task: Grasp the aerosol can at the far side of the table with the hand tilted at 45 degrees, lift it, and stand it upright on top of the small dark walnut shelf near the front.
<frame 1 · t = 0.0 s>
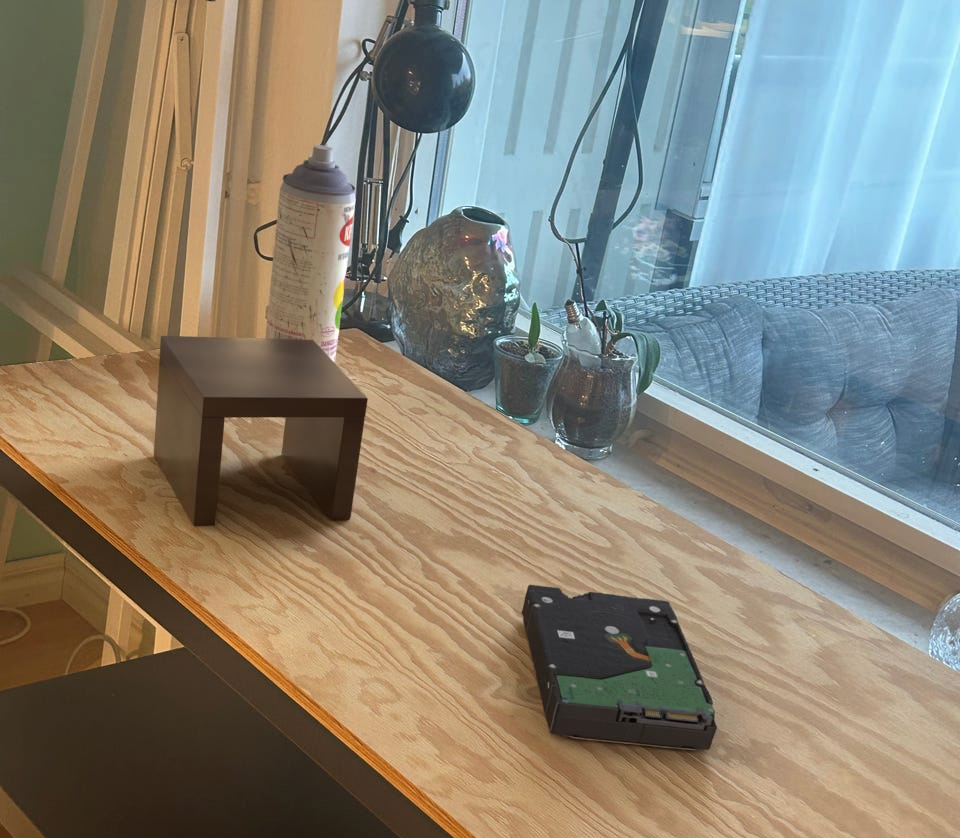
disk drive: (608, 684, 86), on the workbench
shelf: (250, 487, 102), on the workbench
aerosol can: (298, 364, 128), on the workbench
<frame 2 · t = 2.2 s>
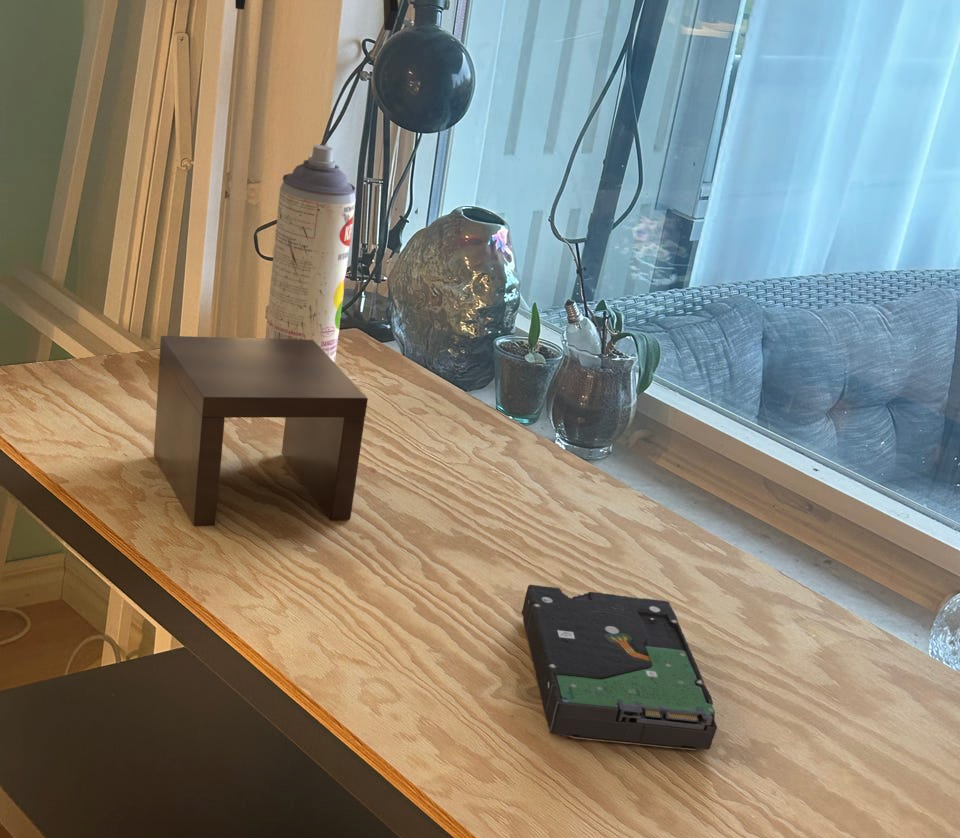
hand: (317, 10, 120), 30 cm above the workbench, tool tilted 45°, fingers open, 13 cm apart
nothing on the workbench moved.
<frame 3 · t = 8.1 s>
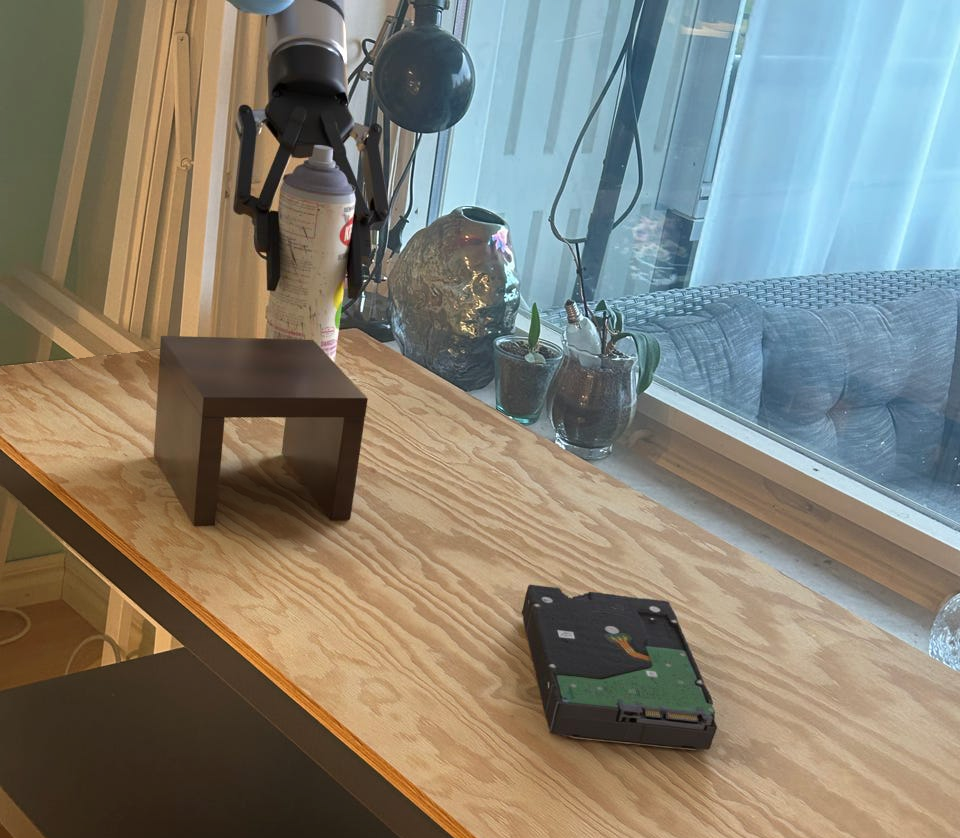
hand: (314, 287, 121), 8 cm above the workbench, tool tilted 45°, fingers closed on aerosol can, 7 cm apart
aerosol can: (298, 364, 128), on the workbench, touching gripper
everything else where it was.
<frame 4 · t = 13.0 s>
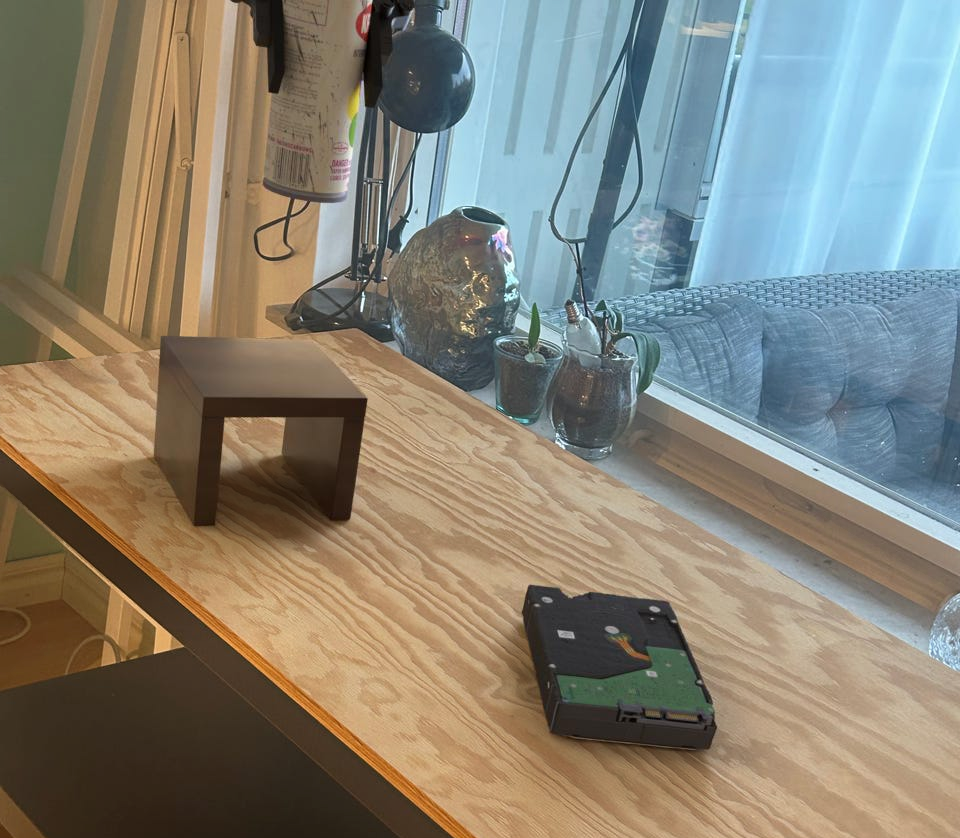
hand: (325, 89, 101), 27 cm above the workbench, tool tilted 45°, fingers closed on aerosol can, 7 cm apart
aerosol can: (304, 193, 108), point 19 cm above the workbench, touching gripper
everything else where it was.
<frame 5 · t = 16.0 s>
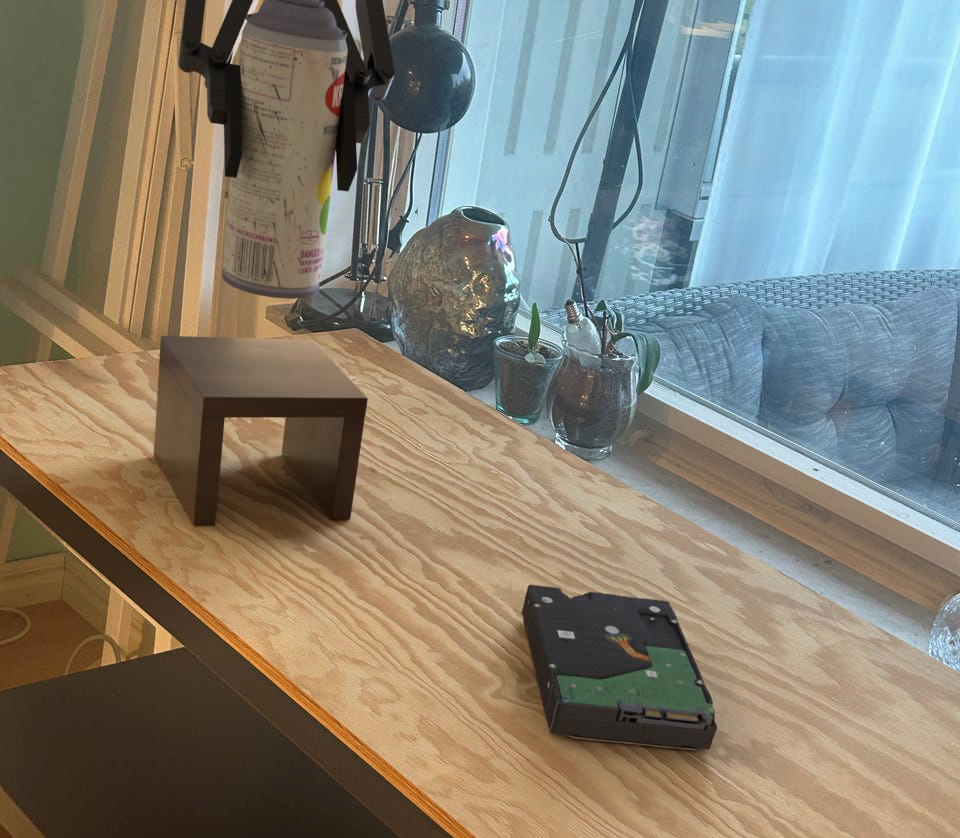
hand: (291, 172, 87), 24 cm above the workbench, tool tilted 45°, fingers closed on aerosol can, 7 cm apart
aerosol can: (270, 285, 94), point 16 cm above the workbench, touching gripper
everything else where it was.
when the fingers open (18 cm above the workbench, at t = 18.1 s): aerosol can stays where it is, resting on shelf.
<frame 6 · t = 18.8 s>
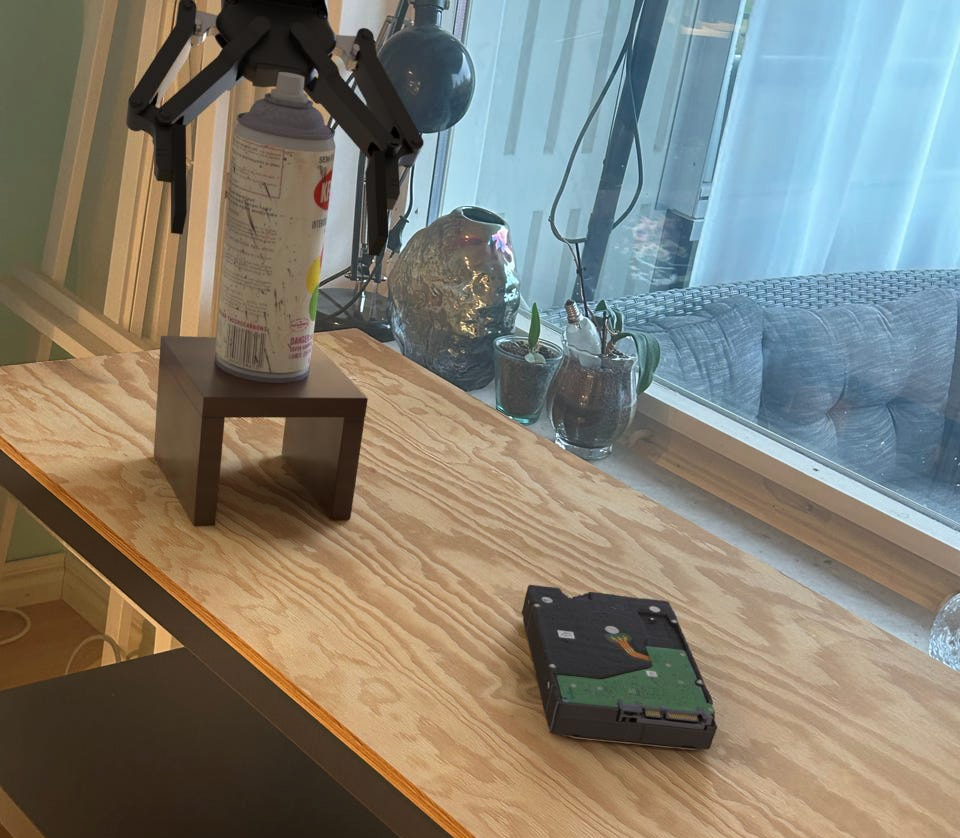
hand: (281, 235, 90), 20 cm above the workbench, tool tilted 45°, fingers open, 13 cm apart
aerosol can: (262, 368, 97), point 10 cm above the workbench, touching shelf
everything else where it was.
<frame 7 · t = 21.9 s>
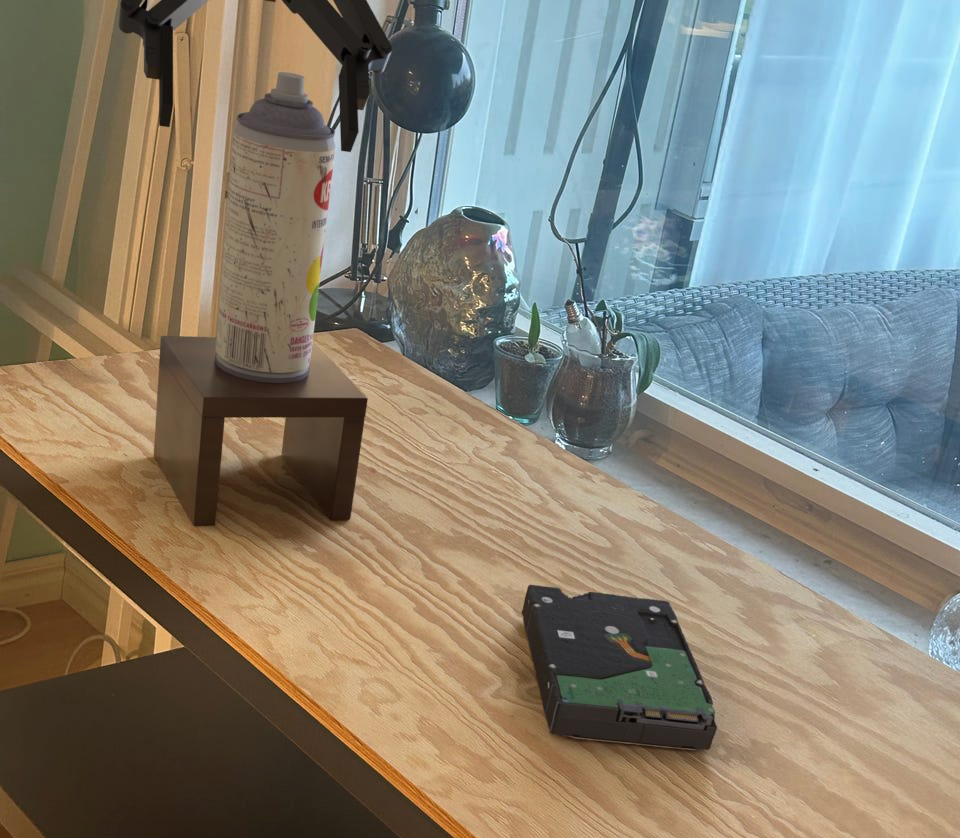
hand: (259, 129, 98), 24 cm above the workbench, tool tilted 45°, fingers open, 13 cm apart
nothing on the workbench moved.
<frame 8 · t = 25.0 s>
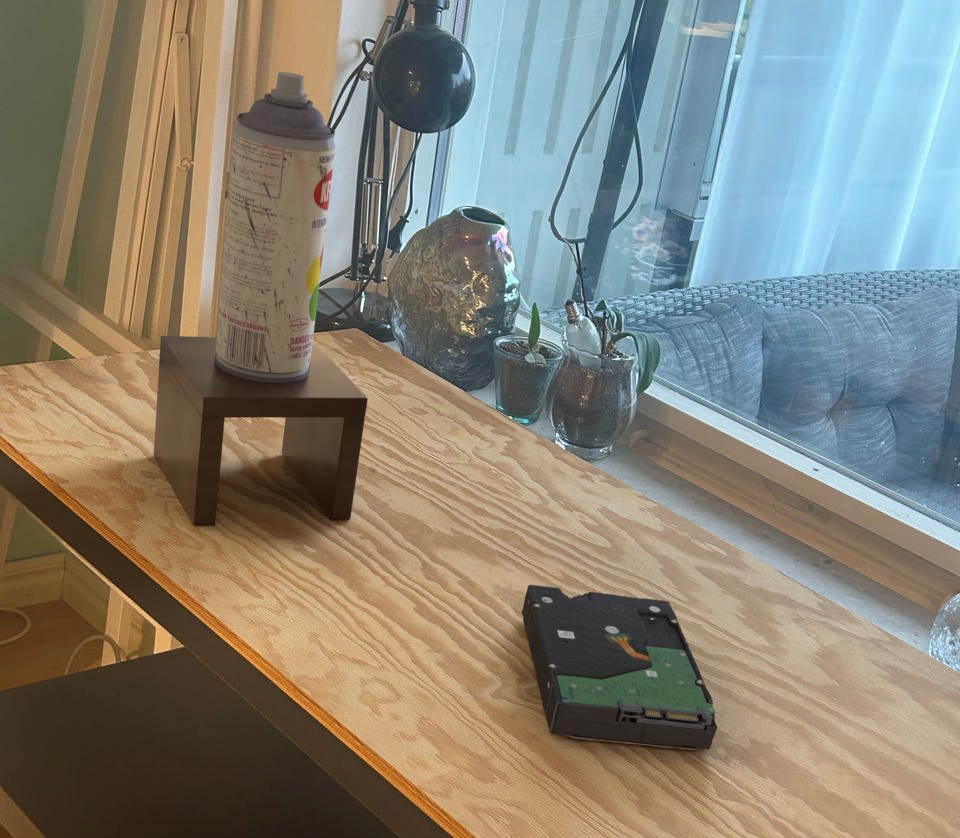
nothing on the workbench moved.
at the end: aerosol can inside the target area on the shelf (0.0 cm from its centre), point 9.6 cm above the shelf's base; aerosol can tilted 0°; the gripper is holding nothing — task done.
